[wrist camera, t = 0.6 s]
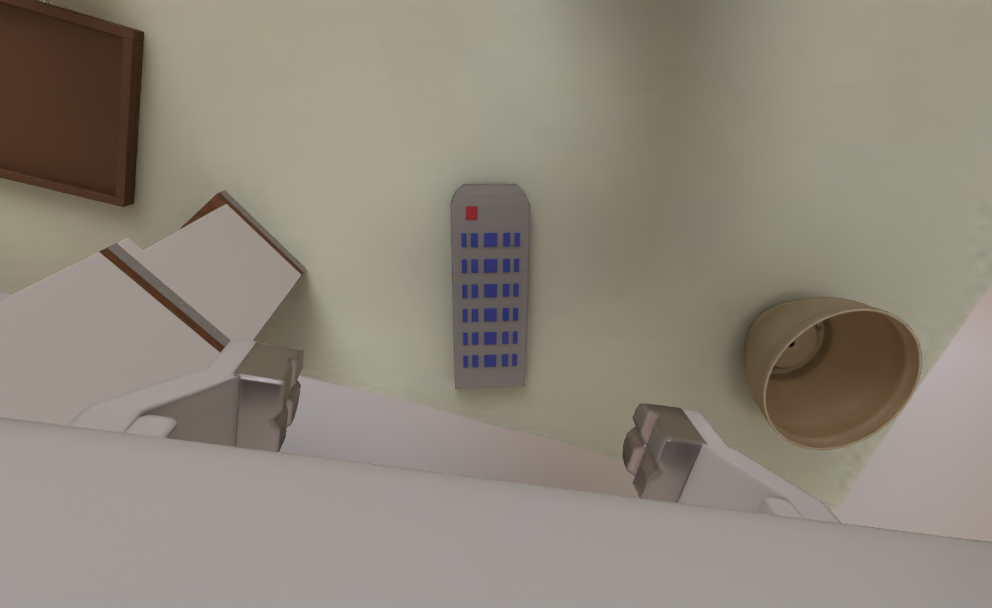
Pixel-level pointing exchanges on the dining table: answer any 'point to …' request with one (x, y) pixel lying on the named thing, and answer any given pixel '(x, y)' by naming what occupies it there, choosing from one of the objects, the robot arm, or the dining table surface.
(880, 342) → the planter bowl
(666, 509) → the robot arm
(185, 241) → the two-tier shelf stand
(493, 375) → the remote control
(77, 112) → the serving tray
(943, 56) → the dining table surface
